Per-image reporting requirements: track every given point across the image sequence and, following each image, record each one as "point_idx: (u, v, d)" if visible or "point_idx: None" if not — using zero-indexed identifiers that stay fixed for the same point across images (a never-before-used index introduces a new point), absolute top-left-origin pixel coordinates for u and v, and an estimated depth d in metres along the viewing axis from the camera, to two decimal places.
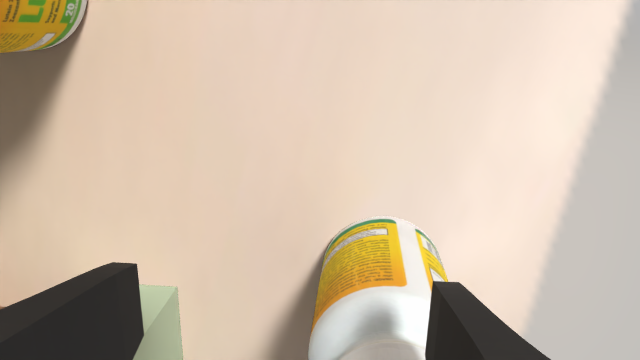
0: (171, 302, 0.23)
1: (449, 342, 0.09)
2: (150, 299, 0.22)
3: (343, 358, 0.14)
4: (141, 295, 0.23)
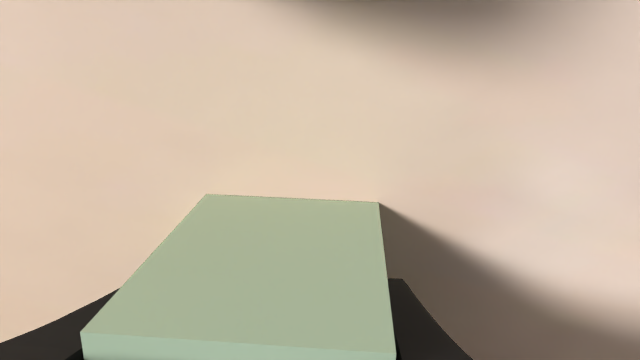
0: (210, 206, 0.12)
1: None
2: None
3: None
4: None
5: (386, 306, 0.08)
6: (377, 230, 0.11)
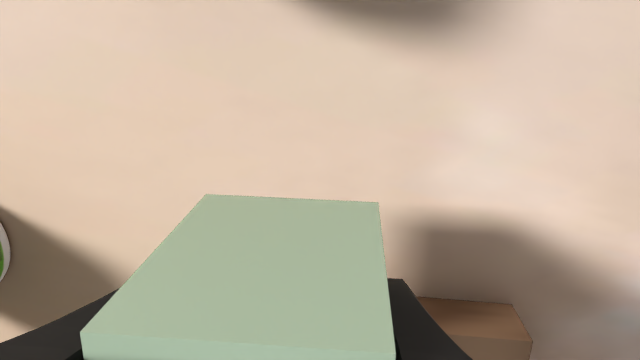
0: (210, 206, 0.12)
1: None
2: None
3: None
4: None
5: (386, 306, 0.08)
6: (377, 230, 0.11)
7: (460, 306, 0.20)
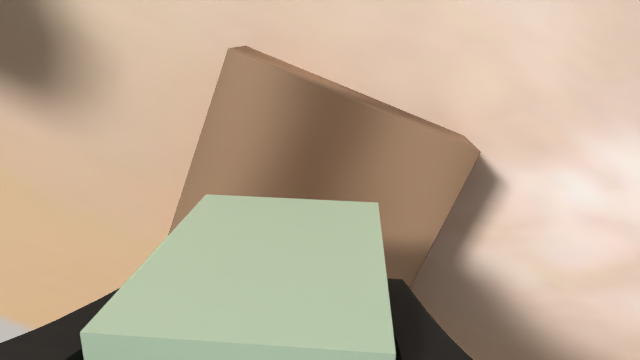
0: (210, 206, 0.12)
1: None
2: None
3: None
4: None
5: (386, 306, 0.08)
6: (377, 230, 0.11)
7: (411, 115, 0.18)
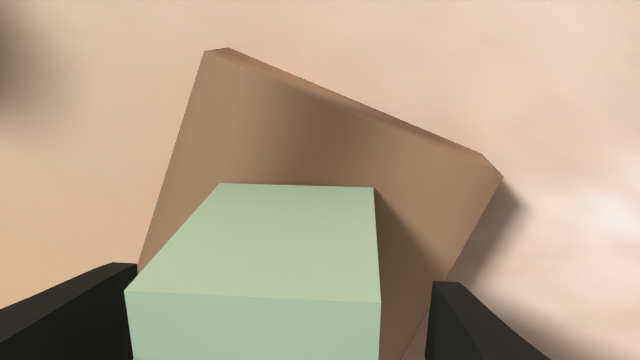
0: (224, 193, 0.13)
1: (449, 342, 0.09)
2: None
3: None
4: None
5: (375, 268, 0.09)
6: (371, 210, 0.12)
7: (421, 130, 0.15)
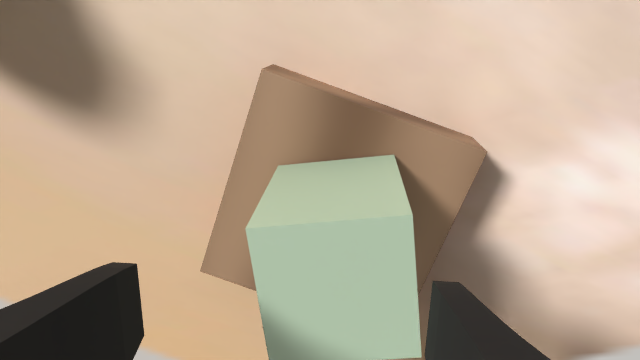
0: (284, 171, 0.18)
1: (449, 342, 0.09)
2: None
3: None
4: None
5: (405, 199, 0.14)
6: (395, 168, 0.17)
7: (424, 121, 0.20)
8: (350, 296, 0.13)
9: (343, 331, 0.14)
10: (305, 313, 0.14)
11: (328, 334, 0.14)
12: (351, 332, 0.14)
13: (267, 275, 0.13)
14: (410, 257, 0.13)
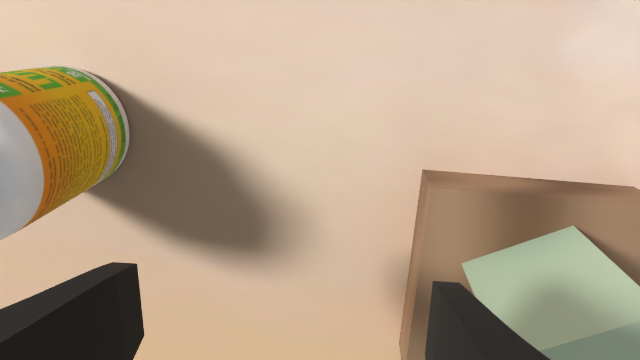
0: (474, 270, 0.19)
1: (450, 342, 0.09)
2: (475, 296, 0.18)
3: None
4: None
5: None
6: (592, 246, 0.17)
7: (584, 185, 0.20)
8: None
9: None
10: None
11: None
12: None
13: None
14: None
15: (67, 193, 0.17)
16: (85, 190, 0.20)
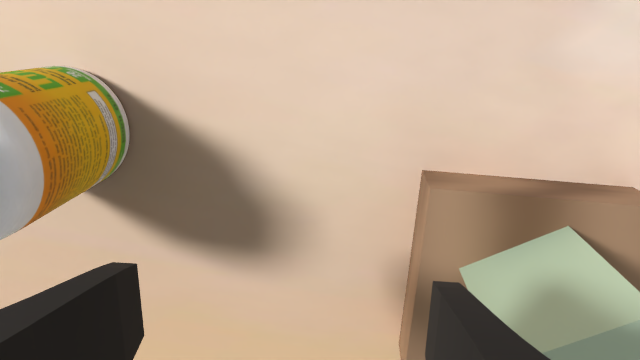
0: (472, 275, 0.19)
1: (450, 342, 0.09)
2: None
3: None
4: None
5: (635, 290, 0.14)
6: (587, 246, 0.17)
7: (584, 186, 0.20)
8: None
9: None
10: None
11: None
12: None
13: None
14: None
15: (67, 193, 0.17)
16: (85, 190, 0.20)
